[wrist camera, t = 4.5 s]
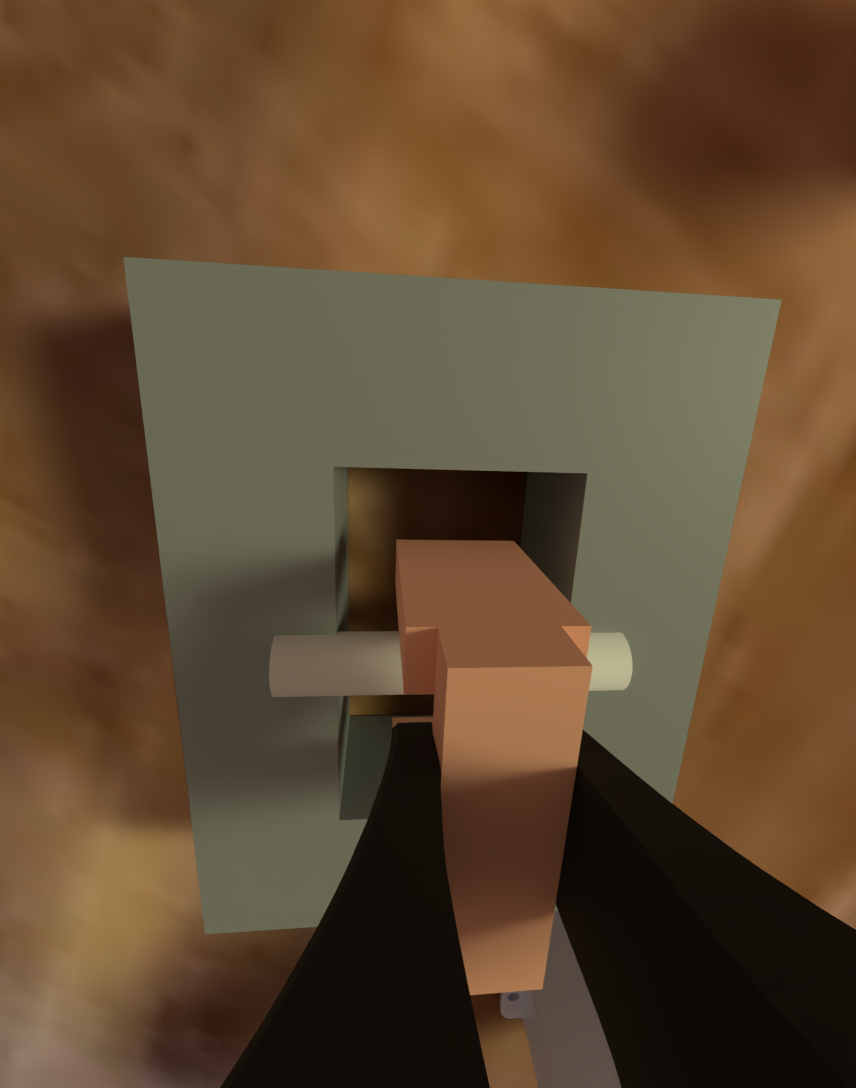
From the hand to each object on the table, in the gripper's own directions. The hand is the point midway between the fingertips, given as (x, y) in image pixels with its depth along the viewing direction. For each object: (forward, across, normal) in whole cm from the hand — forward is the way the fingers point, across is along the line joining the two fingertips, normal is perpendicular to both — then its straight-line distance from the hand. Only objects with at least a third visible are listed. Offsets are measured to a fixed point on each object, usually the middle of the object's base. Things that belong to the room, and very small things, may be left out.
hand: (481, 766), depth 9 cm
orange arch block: (+4, 0, 0) cm, 4 cm away
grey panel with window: (+9, 0, 0) cm, 9 cm away
